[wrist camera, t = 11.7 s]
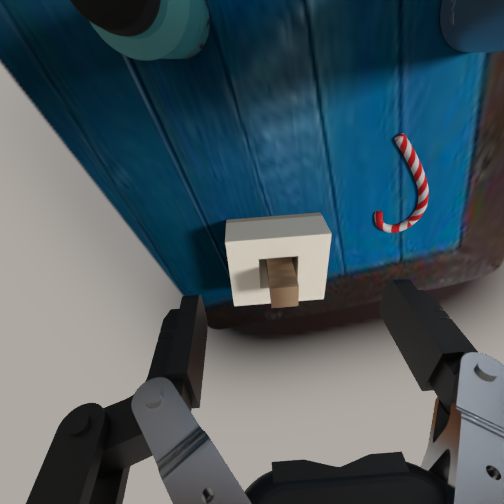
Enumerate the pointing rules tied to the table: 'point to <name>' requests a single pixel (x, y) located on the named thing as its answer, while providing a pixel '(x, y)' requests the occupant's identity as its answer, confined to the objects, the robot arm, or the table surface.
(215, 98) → the table surface
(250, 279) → the socket block
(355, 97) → the table surface
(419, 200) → the candy cane
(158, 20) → the beverage bottle
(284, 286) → the peg
